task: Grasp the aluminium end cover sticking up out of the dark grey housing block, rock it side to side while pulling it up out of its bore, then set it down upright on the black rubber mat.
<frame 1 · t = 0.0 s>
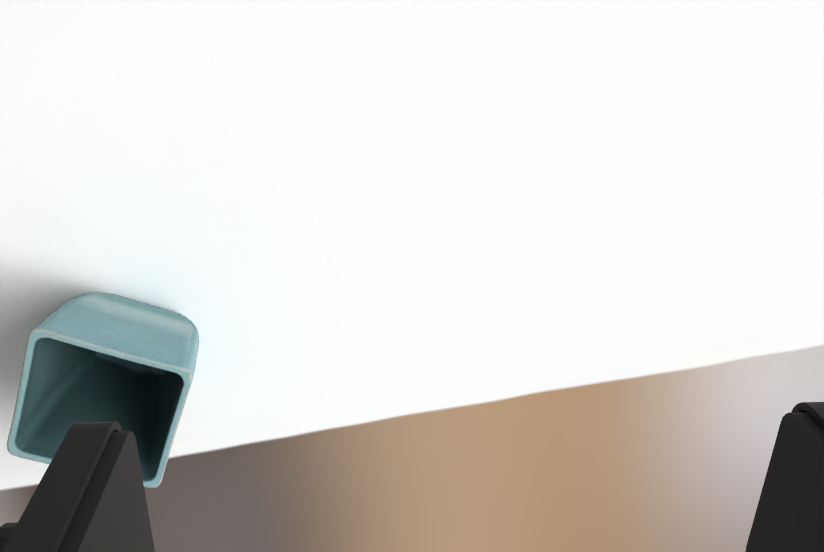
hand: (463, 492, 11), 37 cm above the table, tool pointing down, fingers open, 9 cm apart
flower pot: (138, 333, 51), on the table
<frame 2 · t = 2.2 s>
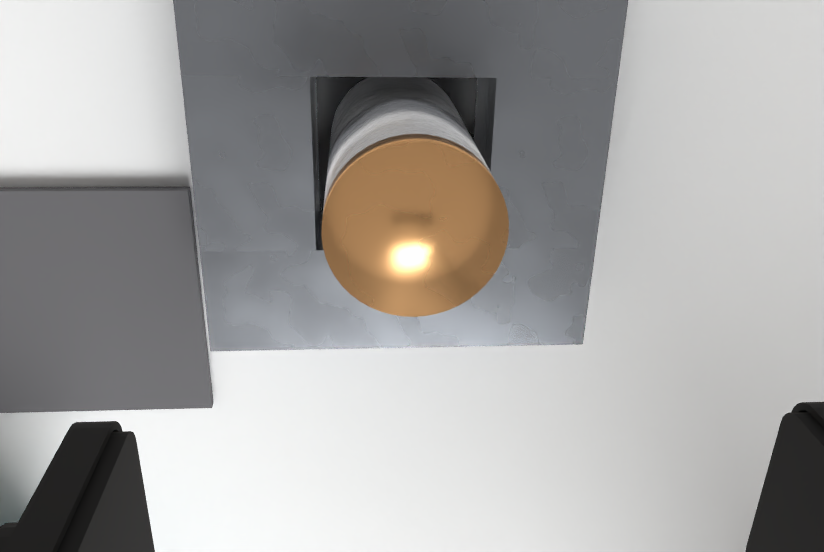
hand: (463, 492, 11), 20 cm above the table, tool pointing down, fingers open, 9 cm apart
mat: (78, 303, 31), on the table
housing: (396, 136, 29), on the table
end cover: (404, 176, 25), in the housing
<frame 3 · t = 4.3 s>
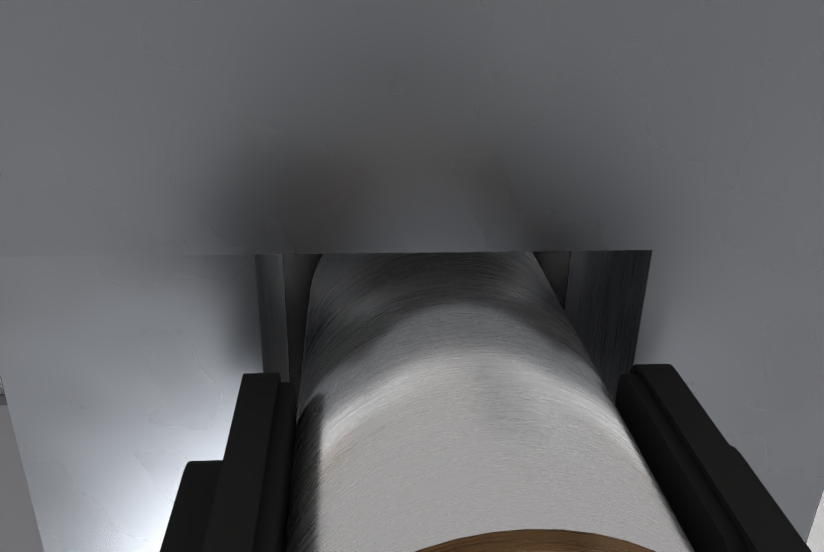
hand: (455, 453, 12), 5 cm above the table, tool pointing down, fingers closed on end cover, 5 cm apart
housing: (427, 305, 16), on the table
end cover: (456, 454, 12), in the housing, touching gripper
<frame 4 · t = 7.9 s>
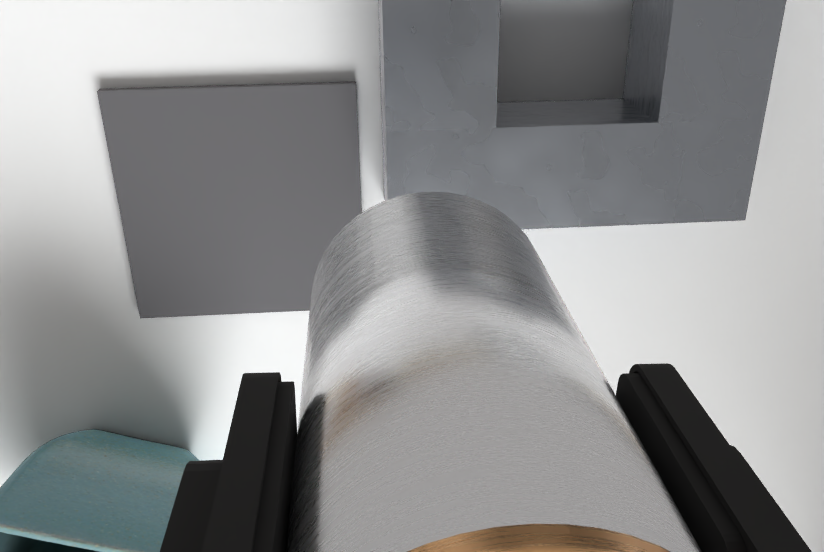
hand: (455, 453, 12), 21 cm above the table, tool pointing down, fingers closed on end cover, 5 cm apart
mat: (243, 204, 32), on the table
housing: (556, 24, 30), on the table
end cover: (459, 451, 12), point 22 cm above the table, touching gripper
flower pot: (132, 471, 38), on the table
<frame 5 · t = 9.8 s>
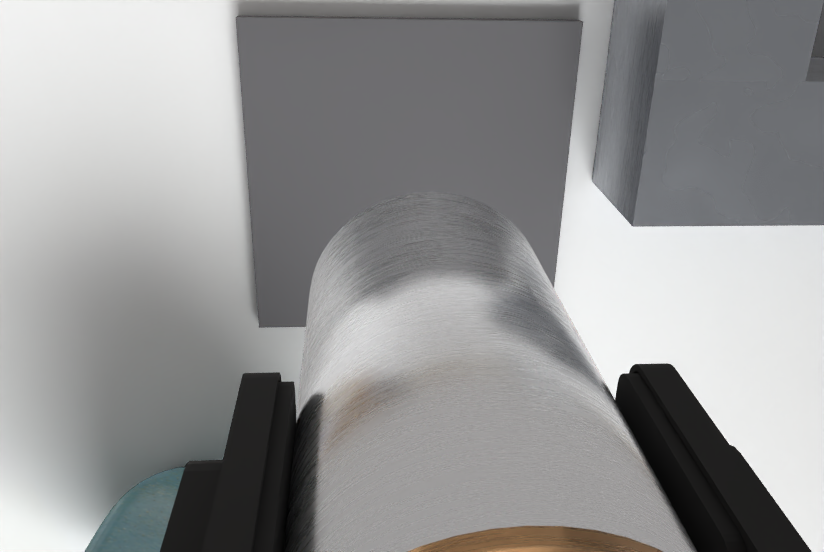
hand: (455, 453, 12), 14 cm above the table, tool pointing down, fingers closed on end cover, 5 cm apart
mat: (408, 181, 24), on the table
end cover: (456, 452, 12), point 14 cm above the table, touching gripper
flower pot: (224, 520, 30), on the table
when the fingers open (7 cm above the table, at t = 11.5 s): end cover drops 1 cm, resting on mat.
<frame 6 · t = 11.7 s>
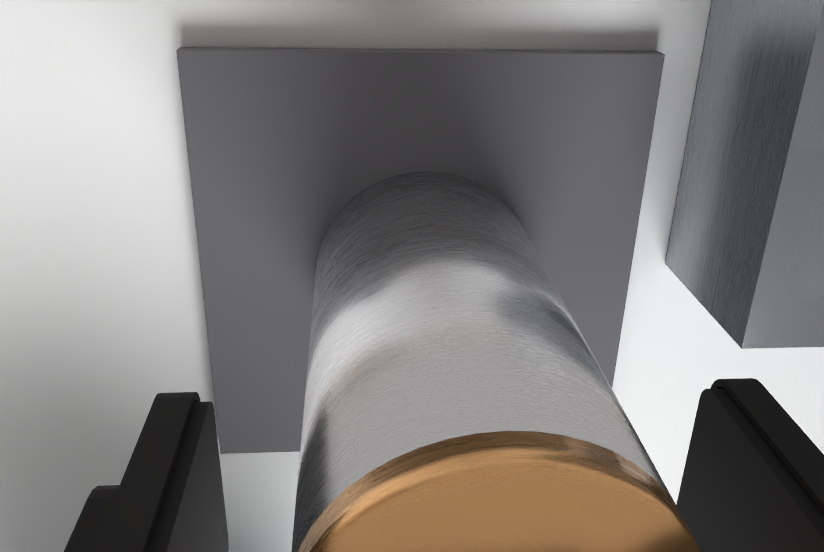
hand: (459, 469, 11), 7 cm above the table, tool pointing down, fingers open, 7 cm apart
mat: (419, 266, 18), on the table
end cover: (450, 399, 13), on the mat
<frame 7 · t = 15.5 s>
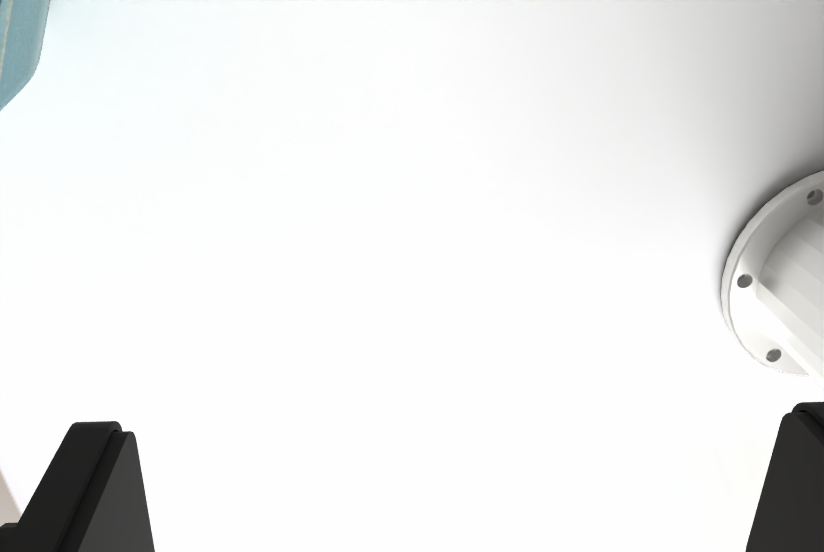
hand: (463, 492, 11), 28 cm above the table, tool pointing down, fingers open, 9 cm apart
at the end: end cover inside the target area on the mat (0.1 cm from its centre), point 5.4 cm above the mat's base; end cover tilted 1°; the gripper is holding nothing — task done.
